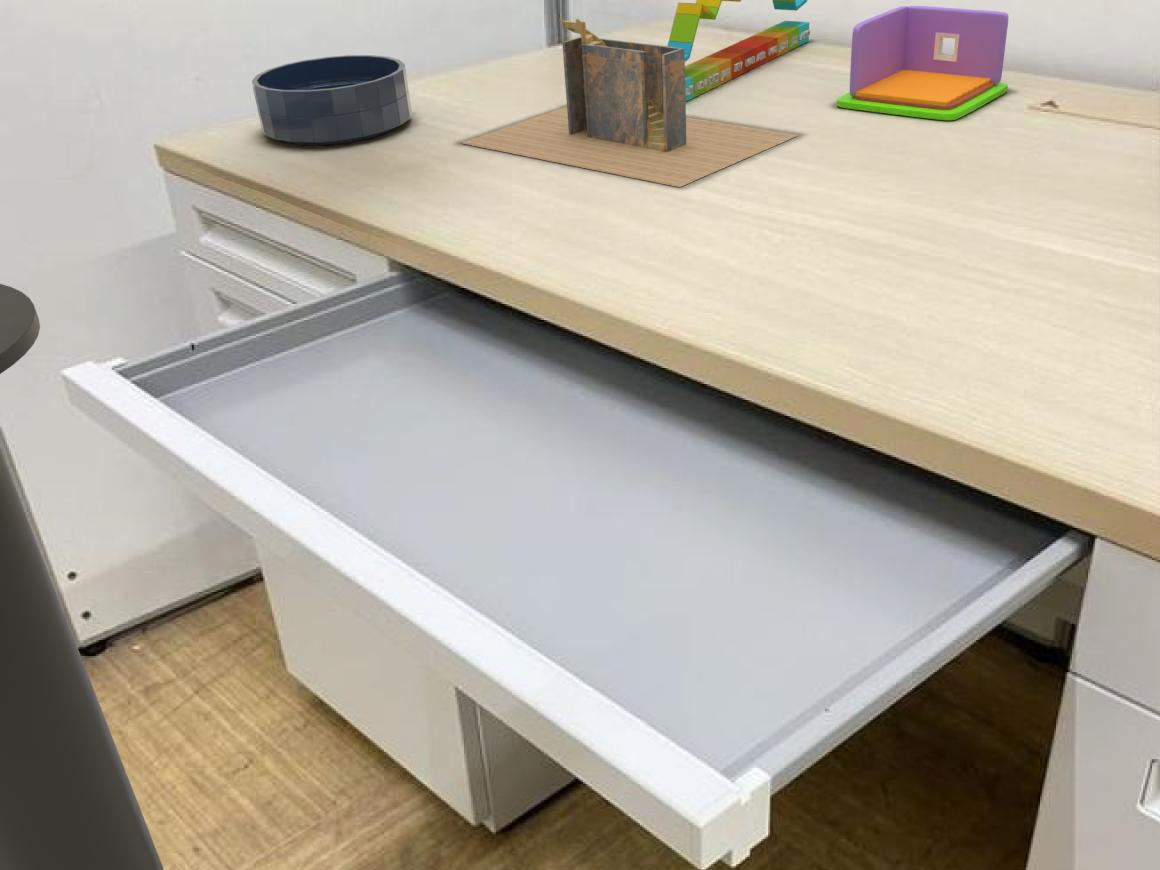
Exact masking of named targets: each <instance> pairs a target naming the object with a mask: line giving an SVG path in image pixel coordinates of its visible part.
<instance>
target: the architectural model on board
mask: <svg viewBox="0 0 1160 870" xmlns="http://www.w3.org/2000/svg"><path fill="white" fill-rule="evenodd" d="M558 20H559V23H562V28H563V29H566V30H567V31H570V32H572V33H575V34H578V35H580V36H578V37H575V38H572V39H569V40H565V41H562V56H563V57H562V58H563V68H564V69H563V70H564V71H563V72H564V85H565V98H566V99H565V100H566V106H564V107H562V108H559V109H555V110H552V111H550V112H547V113H545V114H540V115H538V116H536V117H533V118H530V119H526V120H524V121H521V122H518V123H515V124H511V125H509V126H506V127H503V128H500V129H497V130H495V131H492V132H489V133H486V134H483V135H480V136H478V137H473V138H471V139H469V140H466V141H462V142H461V144H463V145H468V146H473V147H478V148H483V149H488V150H492V151H498V152H502V153H503V152H504V153H508V154H512V155H517V156H522V157H528V158H533V159H538V160H543V161H548V162H552V163H558V164H562V165H567V166H572V167H578V168H581V169H582V168H583V169H587V170H593V171H597V172H602V173H607V174H612V175H617V176H622V177H627V178H632V179H637V180H642V181H647V182H652V183H656V184H657V183H658V184H662V185H666V186H667V185H668V186H673V187H676V188H677V187H678V188H681V187H683V186H686V185H688V184H690V183H693V182H695V181H697V180H700V179H702V178H704V177H706V176H709V175H711V174H713V173H715V172H718V171H721V170H722V169H724V168H725V169H726V168H727V167H729V166H732V165H734V164H737V163H738V162H741V161H743V160H745V159H747V158H750V157H752V156H755V155H757V154H759V153H761V152H764V151H765V150H769V149H770V148H773V147H776V146H777V145H780V144H782V143H784V142H787V141H789V140H791V139H793V138H796V137H798V136H799V135H798V134H793V133H786V132H780V131H774V130H767V129H762V128H754V127H748V126H742V125H736V124H729V123H723V122H717V121H711V120H705V119H704V120H703V119H699V118H697V119H696V118H694V117H693V118H691V117H687V106H686V105H687V103H686V102H687V101H686V97H685V66H686V62H685V48H677V47H668V46H667V45H659V44H651V43H643V42H635V41H626V40H617V39H609V38H601V37H599V36H597V35H596V34H595V33H593V32H591V31H590V30H588V29H587V26H586V25H587V24H586V21H581V20H580V19H579V18H575V21H570V20H565V19H563V18H561V17H559V19H558Z"/></svg>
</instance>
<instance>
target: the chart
mask: <svg viewBox="0 0 1160 870" xmlns="http://www.w3.org/2000/svg"><path fill="white" fill-rule="evenodd" d="M722 2H734V3H735V2H737V3H738V2H739V3H740V2H742V0H696V1H695V3H694V2H677V6H676V10H675V13H674V18H673V22H672V25H671V30H670V34H669V38H668V41H667V45H666V46H668V47H677V48H685V63H686V62H687V61H688V60H690V58H691V54H692V50H693V46H694V42H695V39H696V34H697V32H698V31H697V30H698V27H699V22H700V20H715V21H716V19H717V16H718V14H719V11H720V8H721V5H722ZM807 3H808V0H772V4H773V9H774V10H776V11H777V10H779V11H795V12H796V11H798V10H799V9H800V8H802V7H803V6H804V5H805V4H807ZM810 35H811V30H810V21H799V20H798V21H796V20H783V21H781V22H779V23H776V24H774V25H773V26H770V27H768V28H765V29H764V30H762V31H760V32H757V33H756V34H753V35H751V36H748V37H746V38H744V39H742V40H740V41H738V42H735V43H733V44H730V45H729V46H726V47H724V48H722V49H720V50H718V51H715V52H714V53H711V54H709V55H706V56H704V57H702V58H700V59H698V60H696V61H693V62H691V63H689V64H687V65H685V97H686V102H688V101H690V100H692V99H694V98H696V97H698V96H700V95H702V94H704V93H706V92H708V91H711V90H713V89H714V88H716V87H718V86H720V85H723V84H726V83H727V82H729V81H731V80H733V79H735V78H737V77H739V76H742V75H744V74H745V73H747V72H749V71H752V70H753V69H756V68H757V67H759V66H761V65H764V64H766V63H768V62H770V61H772V60H774V59H776V58H778V57H780V56H782V55H784V54H786V53H788V52H789V51H791V50H794V49H796V48H798V47H799V46H801V45H803V44H806V43H808V42H809V41H810Z"/></svg>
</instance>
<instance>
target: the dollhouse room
mask: <svg viewBox="0 0 1160 870" xmlns="http://www.w3.org/2000/svg"><path fill="white" fill-rule="evenodd" d="M1008 25H1009V14H1008V12H1004V11H996V10H984V9H970V8H969V9H967V8H956V7H955V8H954V7H941V6H928V5H927V6H925V5H907V6H906V5H901V6H898V7H896V8H892V9H890V10H887V11H885V12H882V13H880V14H877V15H875V16H873V17H870V18H867V19H865V20H863V21H861V22H859V23H857V24H855V25H854V27H853V28H852V29H853V30H852V36H851V50H850V53H851V54H850V71H849V92H848V93H845V94H843V95H842V96H839V97H838V98H837V100H836V106H837V107H838V108H842V109H849V110H856V111H865V112H870V113H872V112H873V113H880V114H886V115H893V116H894V115H895V116H904V117H912V118H920V119H928V120H936V121H955V120H958V119H961V118H962V117H964V116H967V115H969V114H970V113H972V112H974V111H975V110H978V109H979V108H981V107H983V106H985V105H986V104H988V103H990V102H992V101H993V100H995V99H997V98H999V97H1000V96H1003V95H1004V94H1005V93H1007V92H1008V88H1009V86H1008V83H1006V82H1001V81H1002V76H1003V67H1004V61H1005V60H1004V59H1005V52H1006V43H1007V35H1008V27H1009V26H1008ZM944 39H953V40H954V47H953V48H954V50H953V54H952V53H943V45H944Z"/></svg>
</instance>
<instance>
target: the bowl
mask: <svg viewBox="0 0 1160 870" xmlns="http://www.w3.org/2000/svg"><path fill="white" fill-rule="evenodd" d="M251 85H252V89H253V94H254V100H255V104H256V108H257V113H258V118H259V122H260V127H261V130H262V132H263V134H264V136H266V137H268V138H270V139H272V140H273V139H274V140H275V141H276V140H277V141H284V142H286V143H290V144H294V145H295V144H296V145H301V146H304V145H305V146H328V145H329V146H330V145H338V144H347V143H353V142H359V141H363V140H367V139H371V138H375V137H378V136H381V135H383V134H386V133H389V132H390V131H392V130H393V129H395V128H397V127H399V126H402V125H403V124H405V123H406V122H407V121H409V120H410V119H411V116H412V114H413V111H412V105H411V104H412V103H411V96H410V91H409V82H408V76H407V69H406V64H405V63H404V62H403V61H402V60H401V59H398V58H394V57H390V56H386V55H385V56H384V55H373V54H347V55H334V56H333V55H332V56H324V57H323V56H322V57H317V58H309V59H303V60H298V61H293V62H289V63H285V64H281V65H278V66H275V67H272V68H268V69H266V70H264V71H262V72H260V73H258V74H256V75H255V76H254V77H253V79H252V80H251Z"/></svg>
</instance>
